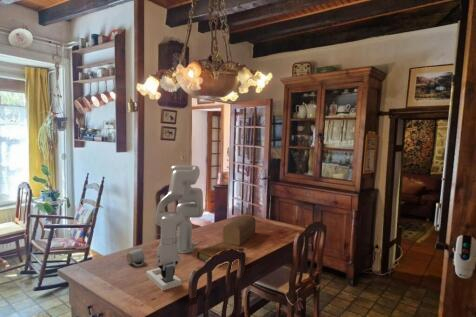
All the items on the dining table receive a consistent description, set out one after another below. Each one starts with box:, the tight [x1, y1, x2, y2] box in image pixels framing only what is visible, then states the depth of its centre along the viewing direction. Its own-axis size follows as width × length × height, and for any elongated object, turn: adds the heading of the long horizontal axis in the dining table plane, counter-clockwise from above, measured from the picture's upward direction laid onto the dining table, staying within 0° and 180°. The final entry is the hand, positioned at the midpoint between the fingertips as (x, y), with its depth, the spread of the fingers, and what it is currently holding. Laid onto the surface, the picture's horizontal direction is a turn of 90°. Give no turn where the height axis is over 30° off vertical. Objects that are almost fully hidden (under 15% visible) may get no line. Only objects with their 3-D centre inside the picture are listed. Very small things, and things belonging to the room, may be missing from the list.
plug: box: [162, 263, 174, 283], centre depth 153 cm, size 4×4×9 cm
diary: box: [196, 241, 245, 267], centre depth 190 cm, size 23×19×6 cm
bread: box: [222, 214, 256, 247], centre depth 228 cm, size 14×34×14 cm, turn 158°
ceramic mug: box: [126, 248, 145, 268], centre depth 178 cm, size 11×8×8 cm
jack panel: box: [145, 267, 182, 291], centre depth 158 cm, size 10×20×2 cm, turn 39°
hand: (167, 275), depth 153 cm, fingers closed on plug, 4 cm apart
